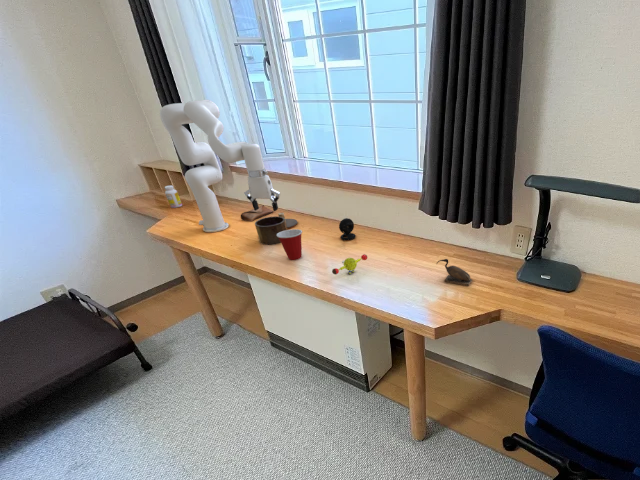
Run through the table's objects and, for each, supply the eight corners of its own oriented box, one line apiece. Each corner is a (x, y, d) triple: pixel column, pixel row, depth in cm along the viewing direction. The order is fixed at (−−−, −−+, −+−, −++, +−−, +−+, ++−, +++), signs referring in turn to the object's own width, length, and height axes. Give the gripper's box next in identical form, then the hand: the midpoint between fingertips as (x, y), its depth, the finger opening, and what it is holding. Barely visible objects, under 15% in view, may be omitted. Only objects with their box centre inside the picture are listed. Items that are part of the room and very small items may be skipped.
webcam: (345, 242, 175) (342, 222, 170) (337, 237, 180) (334, 218, 175) (358, 237, 179) (356, 218, 174) (351, 233, 184) (348, 214, 179)
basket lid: (266, 231, 190) (263, 219, 186) (272, 221, 202) (269, 210, 199) (295, 229, 191) (292, 217, 188) (299, 219, 204) (297, 208, 200)
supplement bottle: (181, 204, 235) (173, 184, 228) (183, 206, 231) (175, 186, 224) (170, 206, 232) (161, 186, 225) (171, 208, 227) (163, 188, 220)
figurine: (434, 280, 141) (434, 260, 136) (438, 274, 145) (438, 255, 140) (468, 286, 136) (470, 265, 132) (472, 280, 140) (473, 260, 135)
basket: (257, 246, 174) (251, 227, 169) (263, 235, 186) (258, 217, 180) (286, 243, 175) (281, 225, 170) (291, 233, 187) (286, 215, 182)
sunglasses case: (252, 221, 202) (244, 210, 201) (246, 225, 207) (238, 215, 205) (275, 211, 216) (268, 201, 214) (268, 215, 220) (262, 206, 218)
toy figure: (362, 263, 155) (360, 248, 152) (371, 266, 152) (370, 252, 149) (329, 279, 144) (326, 264, 140) (338, 283, 141) (336, 268, 137)
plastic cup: (306, 250, 168) (300, 226, 162) (308, 259, 160) (303, 234, 153) (281, 254, 165) (275, 229, 159) (283, 264, 157) (276, 238, 150)
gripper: (278, 171, 165) (286, 207, 175) (243, 170, 167) (253, 206, 177) (271, 175, 159) (279, 213, 168) (234, 175, 161) (245, 212, 170)
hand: (266, 209), depth 173 cm, fingers open, 9 cm apart
